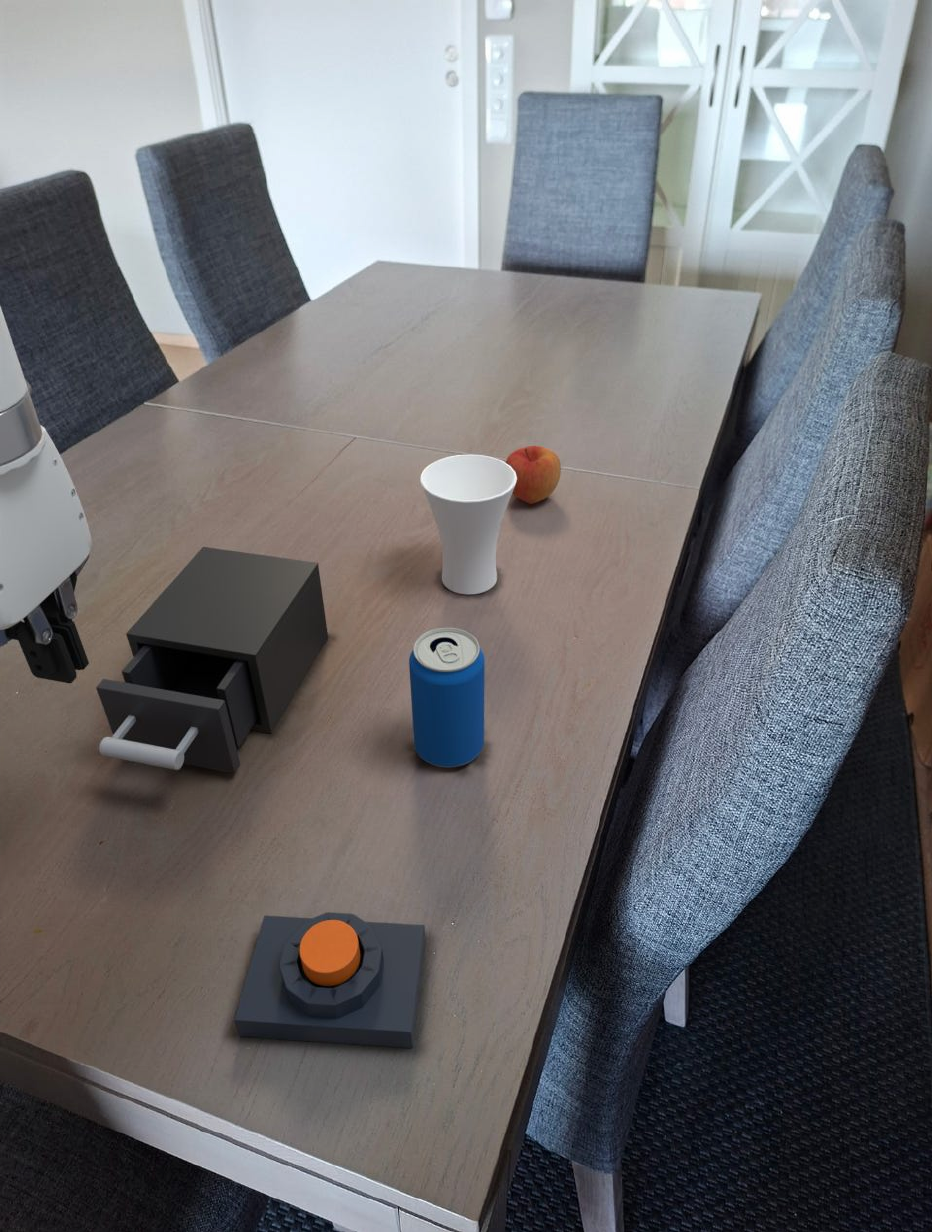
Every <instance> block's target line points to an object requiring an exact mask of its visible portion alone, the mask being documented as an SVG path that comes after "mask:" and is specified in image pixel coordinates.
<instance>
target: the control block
mask: <svg viewBox="0 0 932 1232" xmlns="http://www.w3.org/2000/svg"><path fill="white" fill-rule="evenodd" d="M326 920H339V921H342V922H345V923H347V924H348V925H349V926H351V927H352V928H353V929H354V931H355V932H356V934H357V937H358V942H359V949H360V962H359V966H358V968H357V970H356V971H355V973H354V974H353V975H352V976H351V977H350V978H349V979H348V980H346V981H345V982H343V983H341V984H338V985H335V986H321V985H318V984H315V983H314V982H312V981H311V980H309V979H308V977H307V976H306V975H305V973H304V970H303V967H302V962H301V958H300V953H299V948H300V943H301V940H302V938H303V936H304V935H305V933H306V932H307V931H308V930H309V929H310V928H311V927H312V926H314V925H316V924H318V923H320V922H322V921H326ZM425 926H426V925H424V924H411V923H394V922H377V921H365V920H364V919H362V918H360V917H359V916H358V915H356V914H354V913H345V912H332V911H331V912H325V913H322V914H319V915H316V916H315V917H295V916H278V915H263V919H262V922H261V925H260V929H259V933H258V936H257V940H256V943H255V946H254V950H253V954H252V957H251V959H250V960H251V961H250V964H249V968H248V970H247V974H246V977H245V980H244V981H245V982H244V985H243V988H242V991H241V995H240V999H239V1002H238V1005H237V1009H236V1013H235V1016H234V1018H233V1022H234V1024H235V1027H236V1030H237V1033H238V1035H239V1037H246V1038H248V1037H249V1038H261V1039H276V1040H290V1041H304V1042H318V1043H319V1042H320V1043H331V1044H345V1045H360V1046H362V1045H363V1046H374V1047H375V1046H377V1047H389V1048H390V1047H391V1048H404V1049H413V1048H414V1042H415V1034H416V1024H417V1016H418V1008H419V1001H420V992H421V984H422V977H423V976H422V974H423V967H424V960H425V952H426V951H425V950H426V942H427V941H426V928H425Z"/></svg>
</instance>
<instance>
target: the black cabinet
mask: <svg viewBox="0 0 932 1232" xmlns="http://www.w3.org/2000/svg"><path fill="white" fill-rule="evenodd" d="M125 635H126V638H127V641H128V644H129V647H130V651H131V654H132V656H133V657H134V656H135V655H136V654H137V653H138V652H139V650H140V649H141V648H142V647H143V646H144V644H149V645H155V646H161V647H167V648H173V649H179V650H185V651H191V652H197V653H203V654H209V655H215V656H220V657H226V658H232V659H238V660H244V661H248V664H249V669H250V673H251V678H252V683H253V687H254V692H255V697H256V701H257V706H258V711H259V717H258V718H257V720H256V721H255V723H254V725H253V726H252V728H251V729H250V731H256V732H259V733H260V732H261V733H267V734H272V733H273V732H274V730H275V728H276V727H277V725H278V724H279V721H280V720H281V718H282V717H283V715H284V713H285V712H286V710H287V708H288V707H289V705H290V703H291V701H292V700H293V698H294V696H295V695H296V693H297V691H298V690H299V688H300V687H301V684H302V683H303V682H304V680H305V678H306V676H307V675H308V673H309V671H310V669H311V668H312V666H313V665H314V663H315V661H316V660H317V658H318V656H319V654H320V652H321V651H322V649H323V648H324V646H325V644H326V642H327V640H328V639H329V632H328V625H327V618H326V612H325V604H324V597H323V588H322V582H321V575H320V567H319V562H314V561H307V560H302V559H301V560H300V559H293V558H286V557H279V556H272V555H266V554H259V553H258V554H257V553H250V552H243V551H237V550H230V549H223V548H215V547H209V546H201V548H200V549H199V551H198V552H197V553H196V554H195V555H194V556H193V557H192V558H191V560H190V561H188V563H187V564H186V565H185V566H184V567H183V569H182V570H181V571H180V572H179V573H178V574H177V575H176V577H174V578H173V580H172V581H171V582H170V583H169V584H168V586H167V587H166V588H165V589H164V590H163V591H162V592H161V593H160V594H159V596H158V597H157V598H156V599H155V601H153V602H152V604H151V605H150V606H149V607H148V608H147V609H146V611H145V612H144V613H143V614H142V615H141V616H140V617H139V618H138V620H137V621H135V623H133V625H132V626H131V627H130V628H129V630H128V631H127V632H126V633H125ZM133 657H132V658H133Z"/></svg>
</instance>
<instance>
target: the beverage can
mask: <svg viewBox="0 0 932 1232" xmlns="http://www.w3.org/2000/svg"><path fill="white" fill-rule="evenodd" d="M485 659H486V658H485V655H484V651H483V650H482V649H481V647H480V643H479V641H478V639H477V638H476V637H475V636H474V635H473V634H472V633H470V632H468V631H466V630H464V629H462V628H461V629H460V628H457V627H438V628H434V629H431V630H428V631H426V632H424V633H422V634H421V635H420V636H419V637H417V640H416V641H414V645H413V648H412V651H411V652H410V655H409V658H408V668H409V682H410V683H409V684H410V699H411V700H410V702H411V711H412V712H411V716H412V733H413V744H414V745H413V746H414V749H415V751H416V753H417V755H418V756H419V757H420V758H421V759H422V760H423V761H425V762H427V763H429V764H431V765H433V766H436V767H441V768H457V767H460V766H464V765H466V764H469V763H470V762H472V761H474V760H475V759H476V758H477V757H479V755H480V754H481V753H482V750H483V749H484V744H485V671H486V670H485V669H486V667H485V666H486V665H485V664H486V663H485V661H486V660H485Z"/></svg>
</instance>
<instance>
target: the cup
mask: <svg viewBox="0 0 932 1232" xmlns="http://www.w3.org/2000/svg"><path fill="white" fill-rule="evenodd" d="M419 480H420V481H419V482H420V485H421V488H422V490H423V493H424V496H425V497H426V500H427V503H428V504H429V507H430V510H431V513H432V515H433V518H434V521H435V523H436V526H437V530H438V534H439V538H440V542H441V551H442V570H441V582H442V584H443V586H444V587H445V588H446V589H448V590H450V591H451V592H454V593H456V594H460V595H477V594H481V593H484V592H487V591H489V590H491V589H492V588H493V587H495V585H496V584H497V581H498V571H497V562H496V556H497V546H498V539H499V533H500V529H501V524H502V522H503V520H504V516H505V514H506V511H507V508H508V505H509V502H510V500H511V498H512V495H513V493H512V492H513V490H514V487H515V484H516V481H517V476H516V472H515V471H514V470H513V469H512V467H511V466H510V465H508V464H506V461H503V460H502V459H498V458H496V457H492V456H487V455H483V454H470V453H469V454H456V455H451V456H446V457H443V458H440V459H437V460H435V461H433V462H432V463H430V464H428V465H427V466H426V467H425V468H424V469H422V473H421V474H420V479H419Z"/></svg>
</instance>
